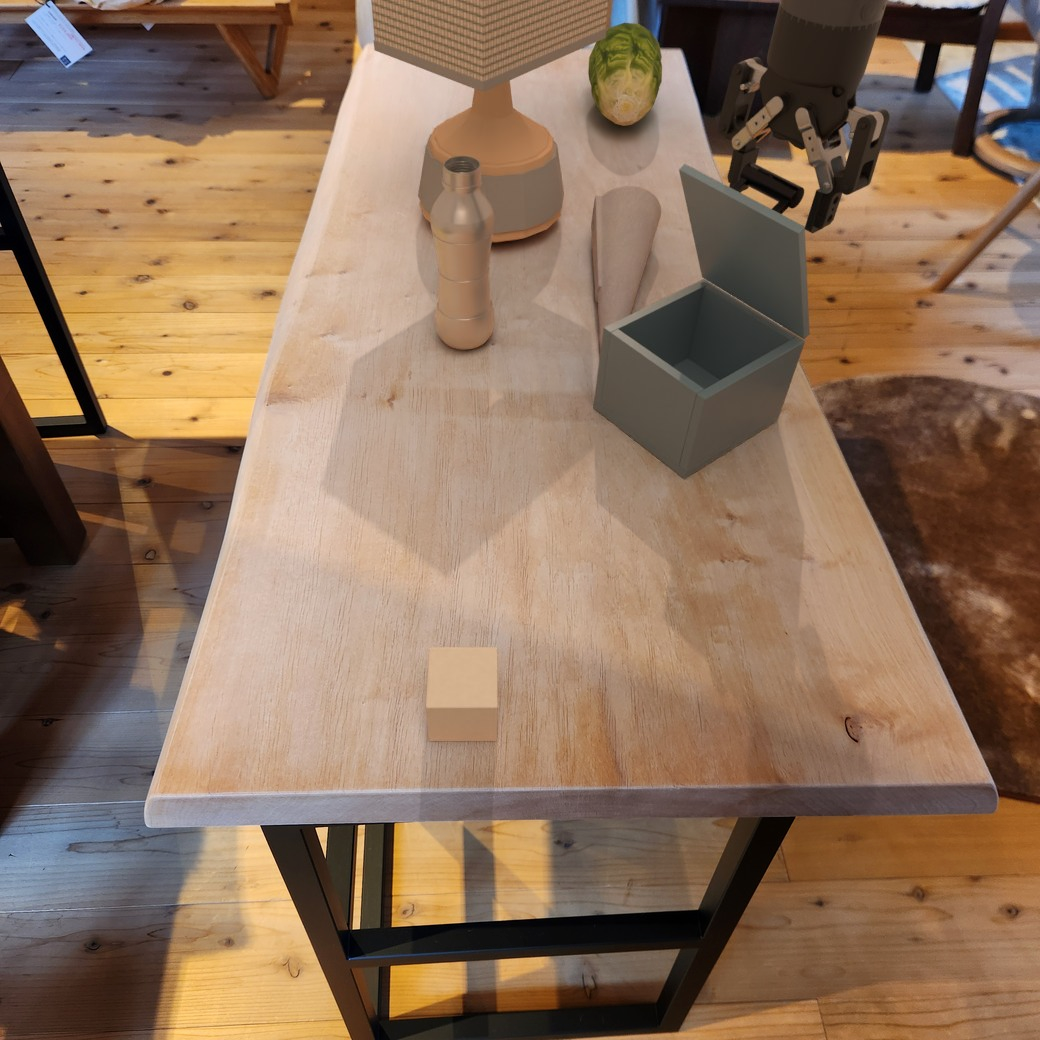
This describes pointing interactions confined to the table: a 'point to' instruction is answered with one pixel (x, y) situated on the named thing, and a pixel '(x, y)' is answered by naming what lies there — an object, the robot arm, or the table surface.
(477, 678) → the tan cube
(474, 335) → the plastic bottle
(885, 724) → the table surface
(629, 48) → the lettuce
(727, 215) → the lid
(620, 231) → the beige long cone
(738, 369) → the grey box
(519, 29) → the desk lamp
